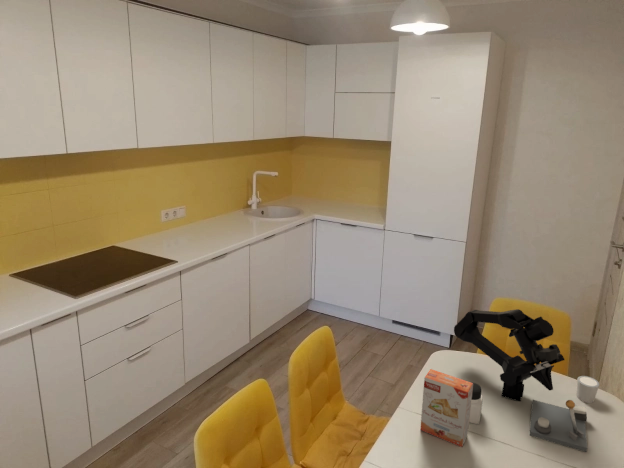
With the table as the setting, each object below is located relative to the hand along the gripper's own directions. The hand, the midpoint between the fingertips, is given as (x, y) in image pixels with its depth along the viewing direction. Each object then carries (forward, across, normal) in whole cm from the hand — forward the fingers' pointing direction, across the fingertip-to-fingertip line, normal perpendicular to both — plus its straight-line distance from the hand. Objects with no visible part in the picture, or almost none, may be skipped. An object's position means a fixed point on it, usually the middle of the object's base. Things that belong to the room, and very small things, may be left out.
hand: (551, 390), depth 151 cm
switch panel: (+11, 0, +6) cm, 12 cm away
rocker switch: (+9, +9, +2) cm, 13 cm away
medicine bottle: (0, -22, +17) cm, 28 cm away
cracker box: (+2, -36, +15) cm, 39 cm away
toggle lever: (+14, 0, -1) cm, 14 cm away
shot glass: (+7, +23, +10) cm, 26 cm away
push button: (+9, -7, +3) cm, 12 cm away
